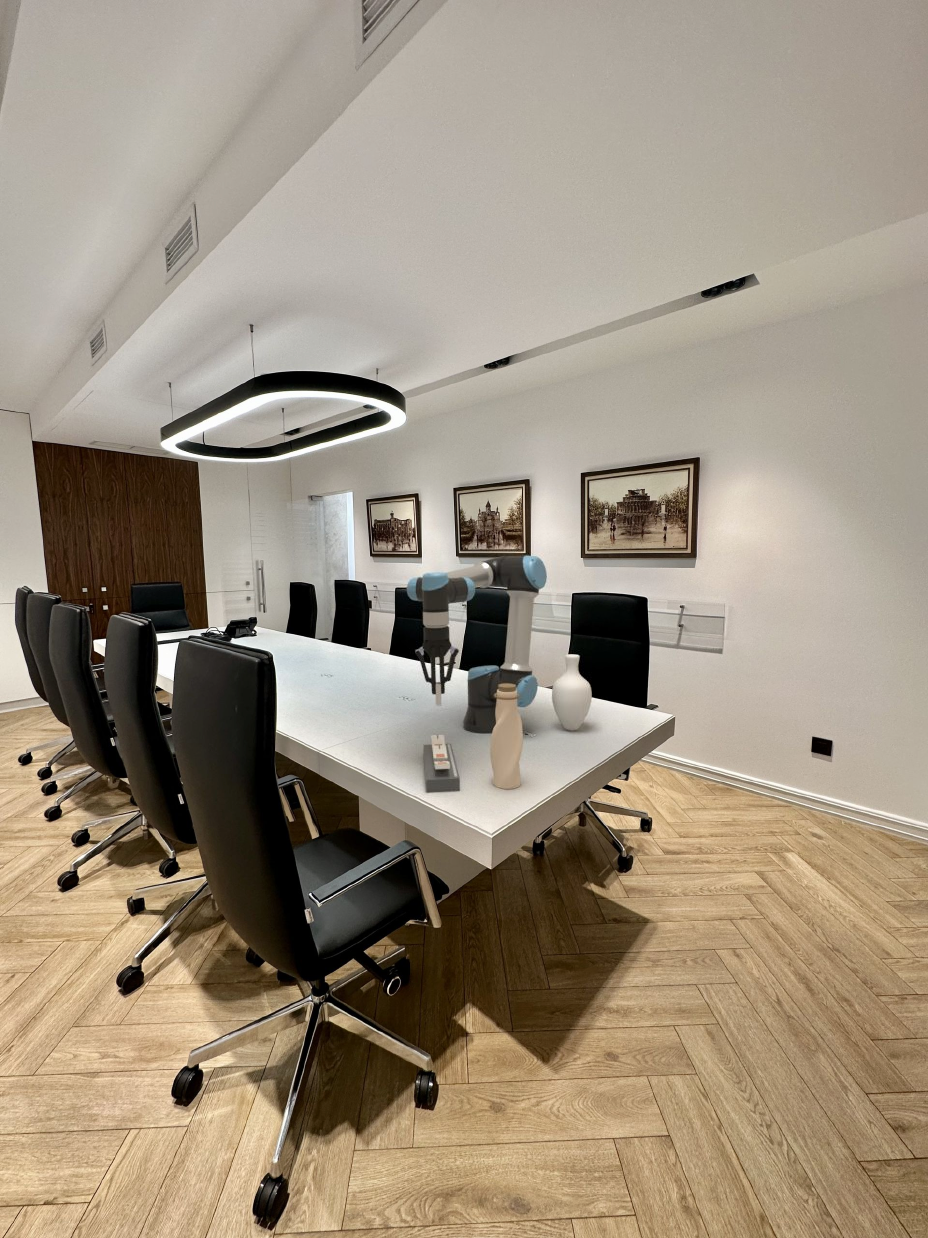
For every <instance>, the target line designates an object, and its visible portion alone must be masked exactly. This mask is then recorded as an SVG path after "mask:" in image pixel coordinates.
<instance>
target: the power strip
mask: <svg viewBox="0 0 928 1238" xmlns="http://www.w3.org/2000/svg"><path fill="white" fill-rule="evenodd" d="M445 745H446V751H447V761H448V762H449V763H450V769H435V767H434V760H433V752H432V743H431V744H422V748H423V750H422V751H423V753H422V754H423V764H424V765H423V766H424V776H425V778H424V779H425V789H426V793H443V792H444V793H445V792H458V791H459V792H460V791H461V789H460V787H461V785H460V783H461V782H460V781H461V780H460V779H461V778H460V774H459V770H458V766H457V763H456V762H457V761H456V758H455V754H454V750H453V745H452V743H445Z"/></svg>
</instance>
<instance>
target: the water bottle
mask: <svg viewBox="0 0 928 1238" xmlns="http://www.w3.org/2000/svg"><path fill="white" fill-rule="evenodd" d="M496 695H497V696H496ZM519 696H520V695H519V694H518V693H517V690H516V685H515V684H508V683H505V684H499V685H498V690H497V693H495V694H494V697H495V698H497V703H496V710H495V716H496V725H495V727H494V729H493V732H491V736H490V737H491V738H490V747H489V752H490V753H489V755H490V764H491V768H492V773H493V775H492V776H493V779H492V783H493V785H494V786H495V787H496V788H498V789H503V790H513V789H516V788H519V787H520V786H521V768H520V759H521V756H522V752H523V751H522V750H523V743H524V735H523V734H524V733H523V723H522V718H521V715H520V712H519V709H518V707H517V698H519Z"/></svg>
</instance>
